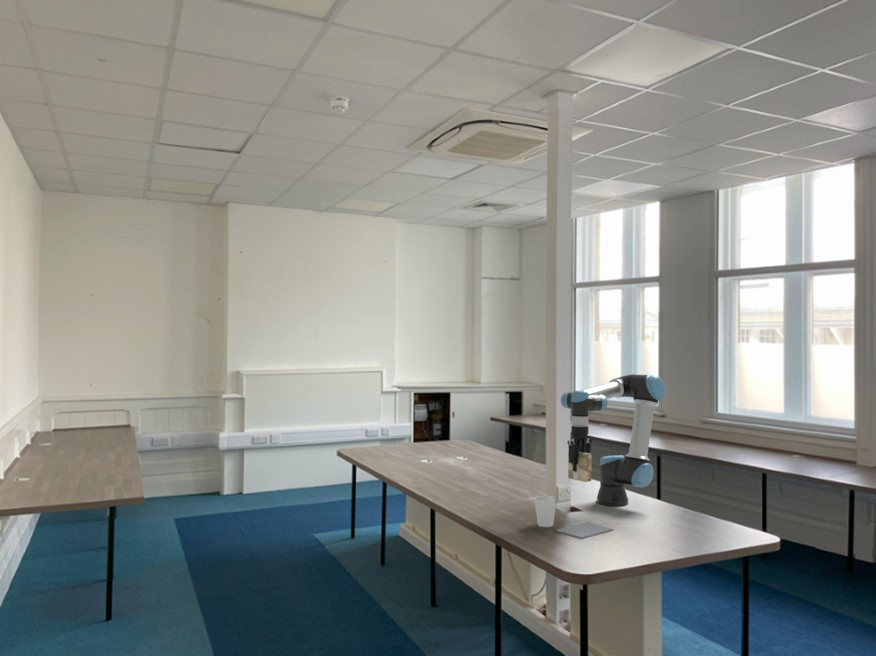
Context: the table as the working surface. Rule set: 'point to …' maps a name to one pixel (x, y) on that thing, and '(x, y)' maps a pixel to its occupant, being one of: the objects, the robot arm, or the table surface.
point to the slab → (581, 467)
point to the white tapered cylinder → (545, 510)
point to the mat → (584, 530)
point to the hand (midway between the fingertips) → (579, 478)
